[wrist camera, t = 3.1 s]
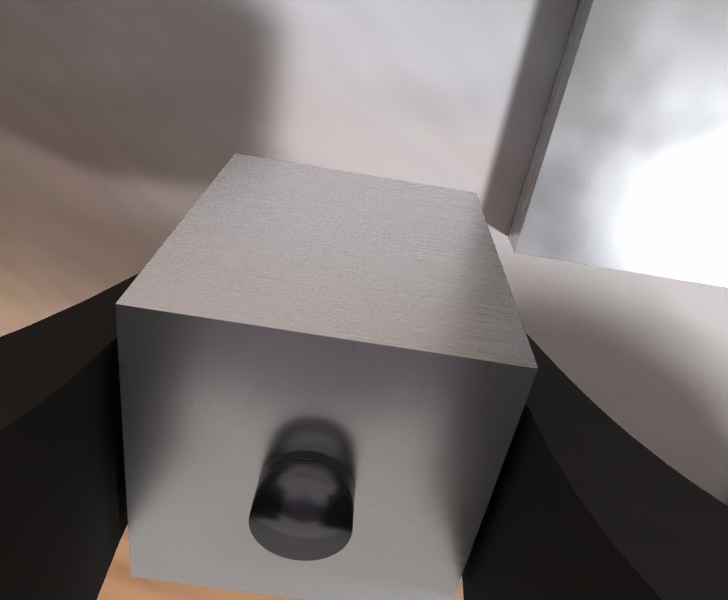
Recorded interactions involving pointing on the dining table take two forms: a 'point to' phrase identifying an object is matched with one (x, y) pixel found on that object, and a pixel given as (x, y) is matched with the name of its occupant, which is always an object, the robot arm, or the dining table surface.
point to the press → (635, 144)
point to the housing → (318, 386)
